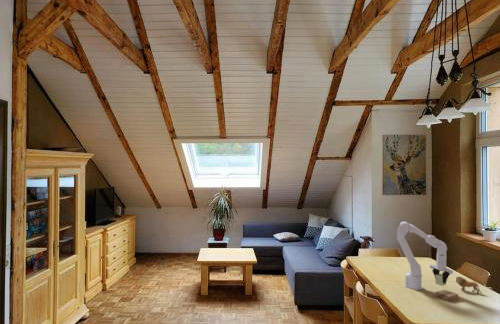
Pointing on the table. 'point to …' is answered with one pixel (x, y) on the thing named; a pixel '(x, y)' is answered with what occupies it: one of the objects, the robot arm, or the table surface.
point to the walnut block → (446, 295)
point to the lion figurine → (467, 284)
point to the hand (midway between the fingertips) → (440, 281)
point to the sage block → (439, 280)
